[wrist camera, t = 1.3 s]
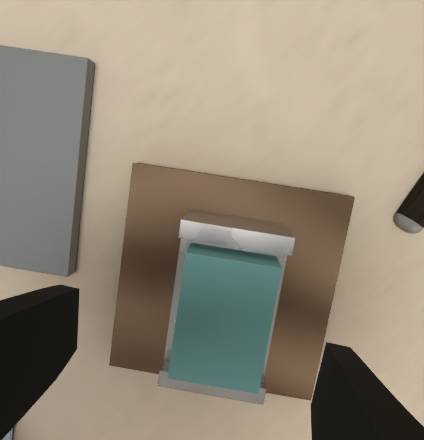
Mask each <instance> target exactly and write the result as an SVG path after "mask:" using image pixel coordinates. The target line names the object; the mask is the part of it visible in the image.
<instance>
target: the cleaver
mask: <svg viewBox="0 0 424 440" xmlns="http://www.w3.org/2000/svg"><path fill="white" fill-rule="evenodd" d="M394 222H395V224H396V225H397V226H398V227H399V228H401V229H402V230H404V231H406V232H408V233H418V232H420V231H421V230H422V229H423V227H424V174H423V175H422V176H421V178H420V179H419V181H418V182H417V184H416V185H415V186H414V188H413V189H412V191H411V192H410V194H409V195H408V196H407V198H406V199H405V201H404V202H403V204H402V205H401V207H400V208H399V210H398V211H397V213H396V214H395V216H394Z"/></svg>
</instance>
